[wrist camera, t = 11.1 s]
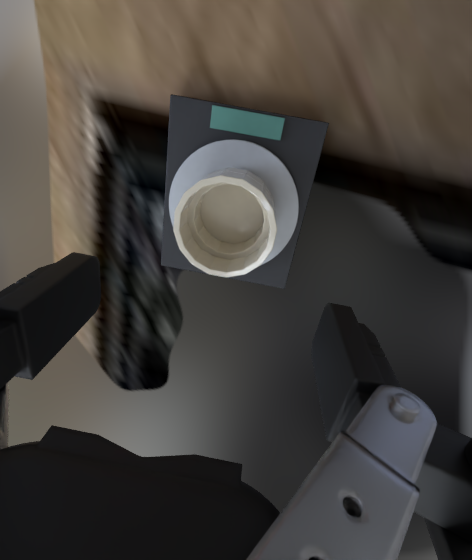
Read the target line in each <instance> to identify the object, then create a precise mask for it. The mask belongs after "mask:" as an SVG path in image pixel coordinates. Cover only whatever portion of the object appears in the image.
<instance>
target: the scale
mask: <svg viewBox="0 0 472 560" xmlns="http://www.w3.org/2000/svg"><path fill="white" fill-rule="evenodd" d="M328 125H329V123H326V122H321V121H315V120H310V119H304V118H299V117H293V116H288V115H282V114H277V113H271V112H266V111H260V110H255V109H249V108H243V107H238V106H232V105H227V104H221V103H216V102H210V101H205V100H199V99H194V98H188V97H183V96H177V95H172V94H171V97H170V115H169V133H168V151H167V168H166V186H165V204H164V222H163V239H162V257H161V265H163V266H168V267H173V268H178V269H184V270H189V271H195V272H200V273H205V274H207V273H206V272H204V271H202V270H201V269H199V268H197V267H195V266H194V265H192V264H191V263H190V262H189V260H188V259H187V258H186V257H185V255H184V254H183V253H182V252H181V250H180V249H179V246H178V243H177V240H176V237H175V234H174V230H173V227H174V213H175V209H176V207H177V205H178V203H179V201H180V200H181V198H182V196H183V194H184V193H185V192H186V191H187V190H188V189H190V188H191V187H192V186H193V185H195V184H196V183H197V182H199V181H200V180H201V179H203V178H204V177H206V176H207V175H208V174H210V173H211V172H213V171H216V170H220V169H224V168H228V167H233V168H239V169H244V170H248V171H250V172H251V173H253V174H254V175H256V176H257V177H259V178H260V179H262V180H263V181H264V182H265V184H266V186H267V187H268V189H269V190H270V192H271V193H272V195H273V199H274V204H275V210H276V220H277V233H276V238H275V242H274V246H273V249H272V251H271V252H270V254H269V255H268V256H267V258H266V259H265V261H264V262H263V263H262V264H261V265H260V266H258V267H257V268H255V269H253V270H252V271H250V272H249V273H247V274H245V275H239V276H233V277H226V278H231V279H236V280H241V281H246V282H252V283H257V284H262V285H267V286H273V287H278V288H283V289H285V286H286V282H287V278H288V274H289V271H290V267H291V263H292V260H293V256H294V252H295V248H296V245H297V241H298V237H299V233H300V230H301V226H302V222H303V218H304V214H305V210H306V207H307V203H308V200H309V196H310V192H311V188H312V185H313V181H314V177H315V173H316V170H317V166H318V162H319V158H320V155H321V151H322V147H323V143H324V140H325V136H326V132H327V128H328ZM210 275H211V274H210ZM215 276H216V275H215Z"/></svg>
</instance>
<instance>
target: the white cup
mask: <svg viewBox="0 0 472 560" xmlns="http://www.w3.org/2000/svg"><path fill="white" fill-rule="evenodd" d="M173 230H174V234H175V237H176V240H177V243H178V246H179V249H180V250H181V252H182V253H183V254H184V255H185V257H186V258H187V259H188V260H189V262H190V263H191V264H192V265H194V266H195V267H197V268H199V269H201V270H202V271H204V272H206V273H207V274H211V275H216V276H221V277H233V276H239V275H245V274H247V273H249V272H250V271H252V270H253V269H255V268H257V267H258V266H260V265H261V264H262V263H263V262H264V261H265V259H266V258H267V256H268V255H269V254H270V252H271V251H272V249H273V246H274V242H275V238H276V233H277V220H276V210H275V204H274V199H273V195H272V193H271V192H270V190H269V189H268V187H267V186H266V184H265V182H264V181H263V180H262V179H260V178H259V177H257V176H256V175H254V174H253V173H251V172H250V171H248V170H244V169H239V168H233V167H228V168H224V169H220V170H216V171H213V172H211V173H210V174H208V175H207V176H206V177H204V178H203V179H201V180H200V181H199V182H197V183H196V184H195V185H193V186H192V187H191V188H190V189H188V190H187V191H186V192H185V193H184V194H183V196H182V198H181V200H180V201H179V203H178V205H177V207H176V209H175V213H174V227H173Z"/></svg>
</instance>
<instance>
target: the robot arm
mask: <svg viewBox="0 0 472 560" xmlns="http://www.w3.org/2000/svg"><path fill="white" fill-rule="evenodd" d="M100 300H101V287H100V265H99V260H98V258H97V257H95V256H90V255H85V254H80V253H75V252H73V253H71V254H69V255H68V256H66V257H64V258H63V259H61V260H60V261H58V262H57V263H53V264H50V265H47V266H44V267H41V268H38V269H37V270H35V271H33V272H32V273H30V274H28V275H27V277H24V278H22V279H20V280H19V281H17V283H14V284H12V285H10V286H9V287H7V288H5V289H4V290H2V291H1V292H0V560H397V558H398V554H399V552H400V549H401V546H402V543H403V540H404V538H405V535H406V532H407V529H408V526H409V523H410V520H411V517H412V514H413V512H415V513H417V514H419V515H421V516H422V517H424V519H425V522H426V525H427V528H428V531H429V534H430V537H431V539H432V542H433V545H434V548H435V551H436V554H437V557H438V560H472V438H470V437H468V436H465V435H463V434H461V433H458V432H456V431H454V430H452V429H449V428H447V427H445V426H442V425H440V424H438V423H436V418H435V416H434V414H433V412H432V411H431V410H430V408H429V407H428V406H427V405H426V404H425V403H424V402H423V401H422V400H421V399H420V398H419V397H417V396H416V395H414V394H413V393H411V392H409V391H407V390H405V389H403V388H401V386H400V384H399V382H398V380H397V378H396V376H395V375H394V372H393V370H392V368H391V366H390V364H389V362H388V360H387V358H386V357H385V354H384V352H383V350H382V348H380V344H379V342H378V340H377V338H376V336H375V335H374V333H372V332H371V331H370V330H369V329H368V328H367V327H366V326H365V325H364V324H361V323H358V321H357V319H356V317H355V315H354V312H353V310H352V308H351V307H348V306H343V305H338V304H332V303H327V304H326V306H325V308H324V311H323V314H322V316H321V319H320V322H319V325H318V328H317V330H316V333H315V337H314V339H313V343H312V350H311V353H312V354H311V355H312V361H313V367H314V372H315V378H316V384H317V389H318V394H319V400H320V406H321V411H322V417H323V422H324V428H325V433H326V439H327V441H332V442H333V443H332V444H331V446H330V447H329V448H328V449H327V451H326V452H325V454H324V455H323V456H322V458H321V459H320V460H319V462H318V463H317V464H316V466H315V467H314V469H313V470H312V471H311V472H310V474H309V475H308V477H307V478H306V479H305V481H304V482H303V484H302V485H301V486H300V487H299V489H298V490H297V491H296V493H295V494H294V496H293V497H292V498H291V499H290V501H289V502H288V504H287V505H286V506H285V508H284V509H283V510H282V512H281V513H280V512H279V511H278V510H277V509H276V508H275V507H274V505H273V504H272V503H270V501H269V500H268V499H266V498H265V497H264V496H263V495H262V494H261V493H260V492H258V491H257V490H255V489H254V488H252V487H251V486H249V485H248V484H246V483H244V482H242V481H241V471H242V464H238V463H234V462H229V461H224V460H219V459H214V458H209V457H204V456H199V455H179V456H160V457H141V456H138V455H136V454H134V453H132V452H130V451H128V450H126V449H124V448H122V447H121V446H119V445H117V444H115V443H113V442H111V441H109V440H107V439H105V438H103V437H101V436H99V435H96V434H92V433H87V432H81V431H77V430H72V429H67V428H62V427H57V426H51V427H50V428H49V430H48V431H47V433H46V434H45V435H44V437H43V438H42V439H41V441H36V442H29V443H23V444H19V445H15V446H11V447H8V420H9V387H8V381H9V380H11V378H13V377H14V376H16V377H20V378H26V379H31V380H32V379H34V377H35V376H36V375H37V374H38V373H39V372H40V371H41V370H42V369H43V368H44V367H45V366H46V365H47V364H48V362H49V361H50V360H51V359H52V358H53V357H54V356H55V355H56V354H57V353H58V352H59V351H60V350H61V349H62V347H64V346H65V344H66V343H67V342H68V341H69V340H70V339H71V338H72V337H73V336H74V335H75V334H76V333H77V332H78V331H79V330H80V328H81V327H82V326H83V325H84V324H85V323H86V322H87V321H88V320H89V319H90V318H91V317H92V316H93V315H94V314H95V312H96V311H97V309H98V307H99V304H100Z"/></svg>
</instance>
